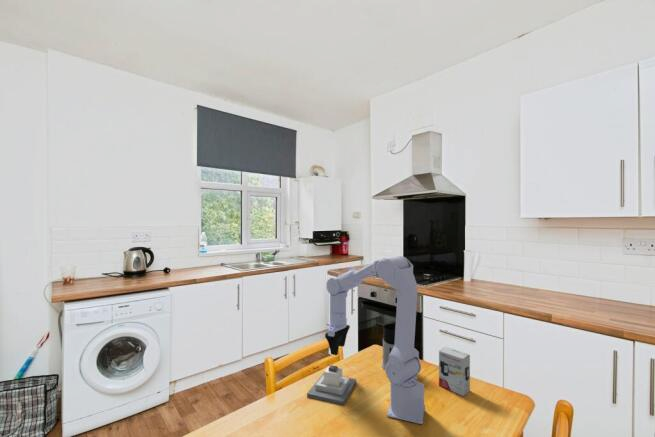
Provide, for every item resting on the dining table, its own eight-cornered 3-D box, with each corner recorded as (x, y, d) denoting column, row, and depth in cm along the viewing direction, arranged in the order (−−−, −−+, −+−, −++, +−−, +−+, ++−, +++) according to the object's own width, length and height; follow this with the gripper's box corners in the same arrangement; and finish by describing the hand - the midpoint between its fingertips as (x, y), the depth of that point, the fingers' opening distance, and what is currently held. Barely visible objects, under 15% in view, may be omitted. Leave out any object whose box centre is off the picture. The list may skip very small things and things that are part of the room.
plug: (342, 384, 99) (342, 365, 99) (338, 390, 95) (338, 371, 95) (328, 381, 101) (328, 363, 101) (323, 387, 97) (323, 368, 97)
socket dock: (356, 382, 102) (356, 374, 102) (343, 405, 89) (343, 396, 89) (323, 375, 107) (323, 368, 107) (307, 396, 93) (307, 388, 94)
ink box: (438, 385, 100) (437, 350, 100) (445, 380, 103) (444, 346, 104) (463, 396, 94) (463, 358, 94) (470, 390, 97) (470, 354, 97)
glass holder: (402, 362, 117) (402, 323, 118) (411, 380, 103) (411, 336, 103) (380, 361, 118) (380, 323, 118) (385, 380, 103) (385, 336, 104)
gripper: (334, 305, 114) (334, 341, 114) (319, 315, 101) (319, 356, 101) (352, 307, 112) (352, 343, 112) (339, 318, 98) (339, 360, 98)
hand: (337, 350), depth 106 cm, fingers open, 7 cm apart
